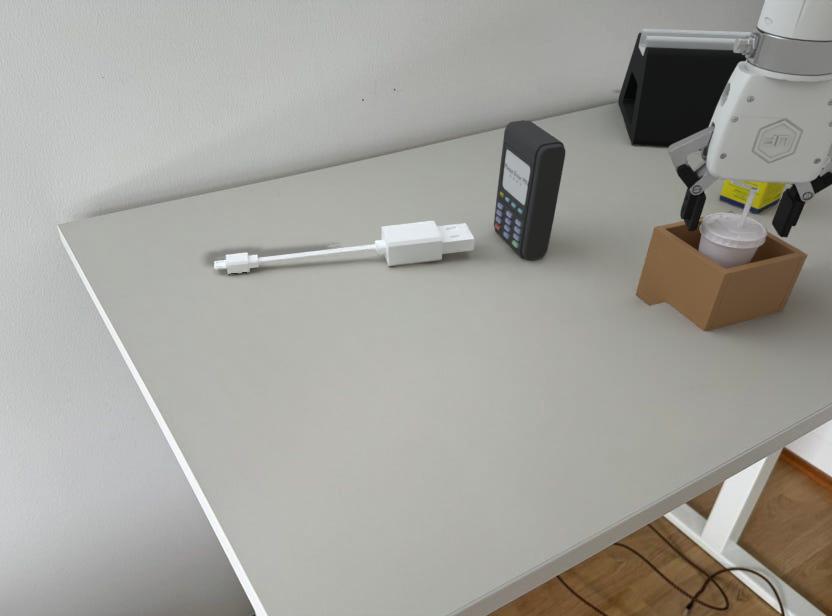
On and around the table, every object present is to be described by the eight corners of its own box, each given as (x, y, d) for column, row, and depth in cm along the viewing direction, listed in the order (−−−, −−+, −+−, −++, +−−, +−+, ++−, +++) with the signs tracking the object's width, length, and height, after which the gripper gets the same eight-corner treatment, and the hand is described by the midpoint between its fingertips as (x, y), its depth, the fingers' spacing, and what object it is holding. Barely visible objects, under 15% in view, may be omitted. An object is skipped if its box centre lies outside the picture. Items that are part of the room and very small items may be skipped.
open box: (708, 277, 86) (731, 210, 80) (777, 324, 78) (808, 254, 72) (635, 294, 83) (654, 226, 77) (698, 345, 75) (725, 274, 70)
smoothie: (721, 326, 76) (767, 207, 68) (666, 302, 80) (702, 186, 71) (748, 303, 80) (794, 187, 71) (693, 281, 83) (731, 168, 75)
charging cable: (217, 267, 91) (212, 244, 89) (463, 238, 93) (465, 215, 91) (216, 288, 87) (211, 264, 85) (474, 257, 89) (475, 234, 87)
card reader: (487, 230, 95) (500, 120, 86) (514, 226, 96) (530, 116, 87) (520, 263, 89) (538, 147, 79) (549, 258, 90) (570, 143, 80)
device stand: (777, 154, 114) (813, 57, 105) (632, 146, 118) (655, 51, 109) (743, 107, 132) (772, 20, 122) (617, 101, 135) (636, 16, 126)
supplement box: (739, 188, 105) (765, 115, 98) (779, 203, 101) (809, 127, 94) (716, 199, 102) (741, 124, 95) (756, 215, 98) (785, 137, 91)
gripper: (701, 61, 62) (652, 239, 72) (922, 68, 59) (836, 252, 70) (685, 38, 67) (641, 206, 78) (885, 44, 65) (811, 217, 76)
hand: (733, 227), depth 74 cm, fingers open, 8 cm apart
